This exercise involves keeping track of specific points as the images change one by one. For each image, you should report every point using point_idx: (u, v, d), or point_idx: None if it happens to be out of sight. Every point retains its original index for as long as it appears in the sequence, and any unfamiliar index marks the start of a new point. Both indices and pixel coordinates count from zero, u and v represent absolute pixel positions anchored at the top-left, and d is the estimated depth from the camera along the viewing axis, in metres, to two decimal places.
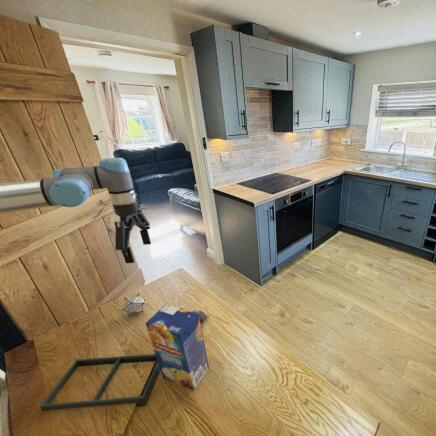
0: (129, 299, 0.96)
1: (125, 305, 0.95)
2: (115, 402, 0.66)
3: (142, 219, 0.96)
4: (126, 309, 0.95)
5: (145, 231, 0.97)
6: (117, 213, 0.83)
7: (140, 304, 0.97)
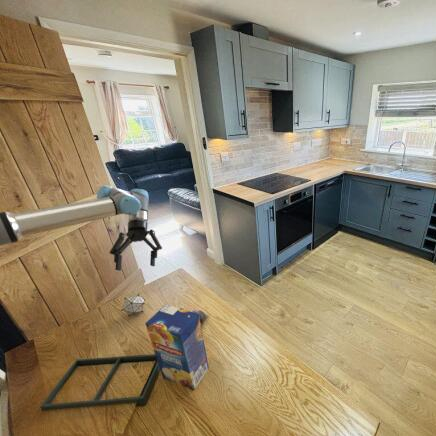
0: (129, 299, 0.96)
1: (125, 305, 0.95)
2: (115, 402, 0.66)
3: (119, 244, 1.05)
4: (126, 309, 0.95)
5: (121, 256, 1.04)
6: (144, 225, 1.07)
7: (140, 304, 0.97)
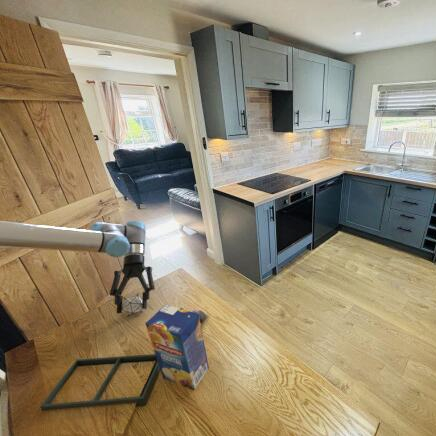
0: (128, 299, 0.96)
1: (124, 305, 0.95)
2: (115, 402, 0.66)
3: (117, 283, 0.98)
4: (125, 309, 0.95)
5: (121, 297, 0.97)
6: (141, 260, 1.02)
7: (139, 304, 0.97)
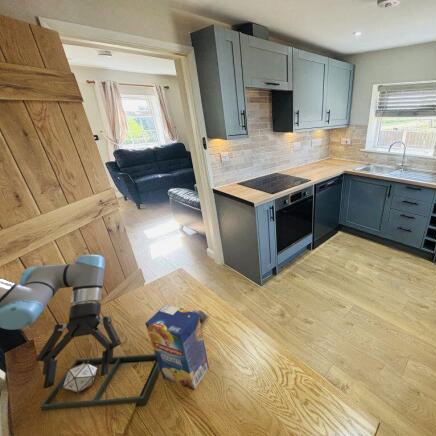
0: (73, 371, 0.69)
1: (66, 381, 0.68)
2: (115, 402, 0.66)
3: (54, 343, 0.71)
4: (67, 387, 0.67)
5: (55, 361, 0.69)
6: (95, 311, 0.74)
7: (89, 378, 0.69)
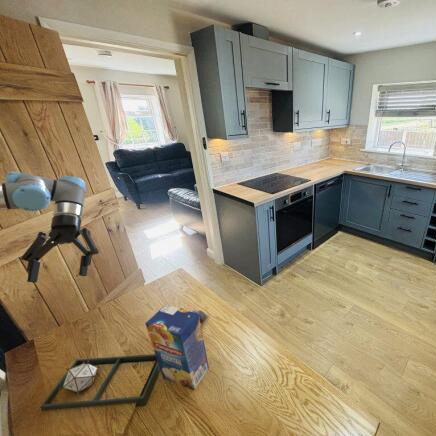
0: (73, 371, 0.69)
1: (66, 381, 0.68)
2: (115, 402, 0.66)
3: (38, 248, 0.79)
4: (67, 387, 0.67)
5: (38, 263, 0.78)
6: (75, 223, 0.82)
7: (88, 378, 0.69)
